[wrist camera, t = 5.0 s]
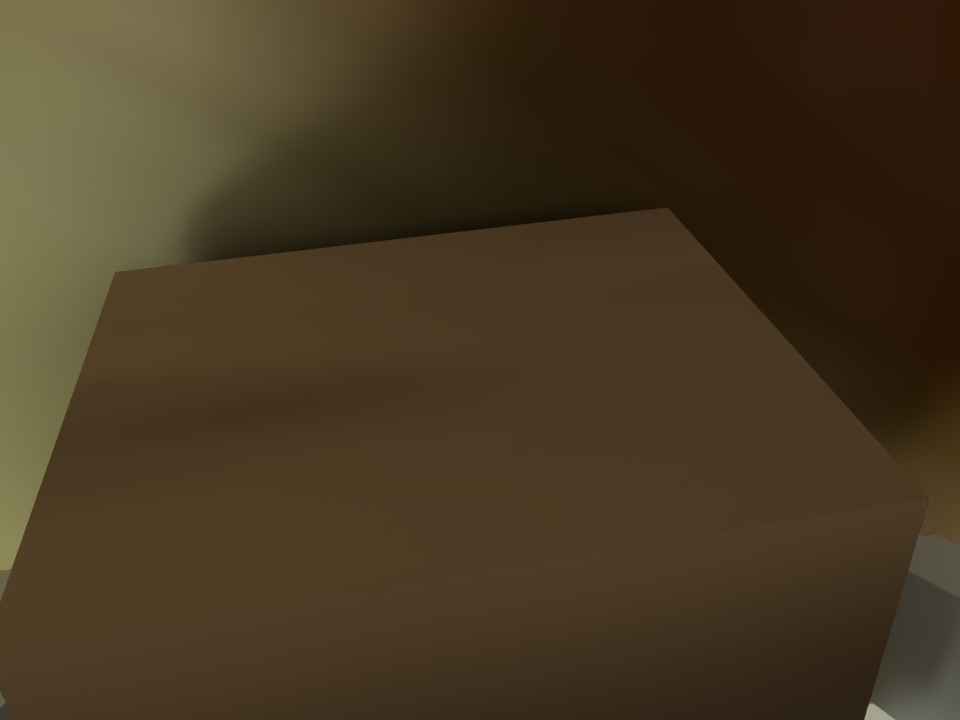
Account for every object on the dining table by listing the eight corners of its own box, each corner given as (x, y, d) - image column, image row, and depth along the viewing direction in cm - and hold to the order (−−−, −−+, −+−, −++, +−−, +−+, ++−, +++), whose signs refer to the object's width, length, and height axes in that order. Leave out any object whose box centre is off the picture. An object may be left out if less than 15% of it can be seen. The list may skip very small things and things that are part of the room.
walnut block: (640, 585, 13) (798, 941, 9) (228, 655, 13) (199, 1077, 9) (667, 206, 10) (928, 498, 6) (114, 271, 9) (-18, 655, 5)
